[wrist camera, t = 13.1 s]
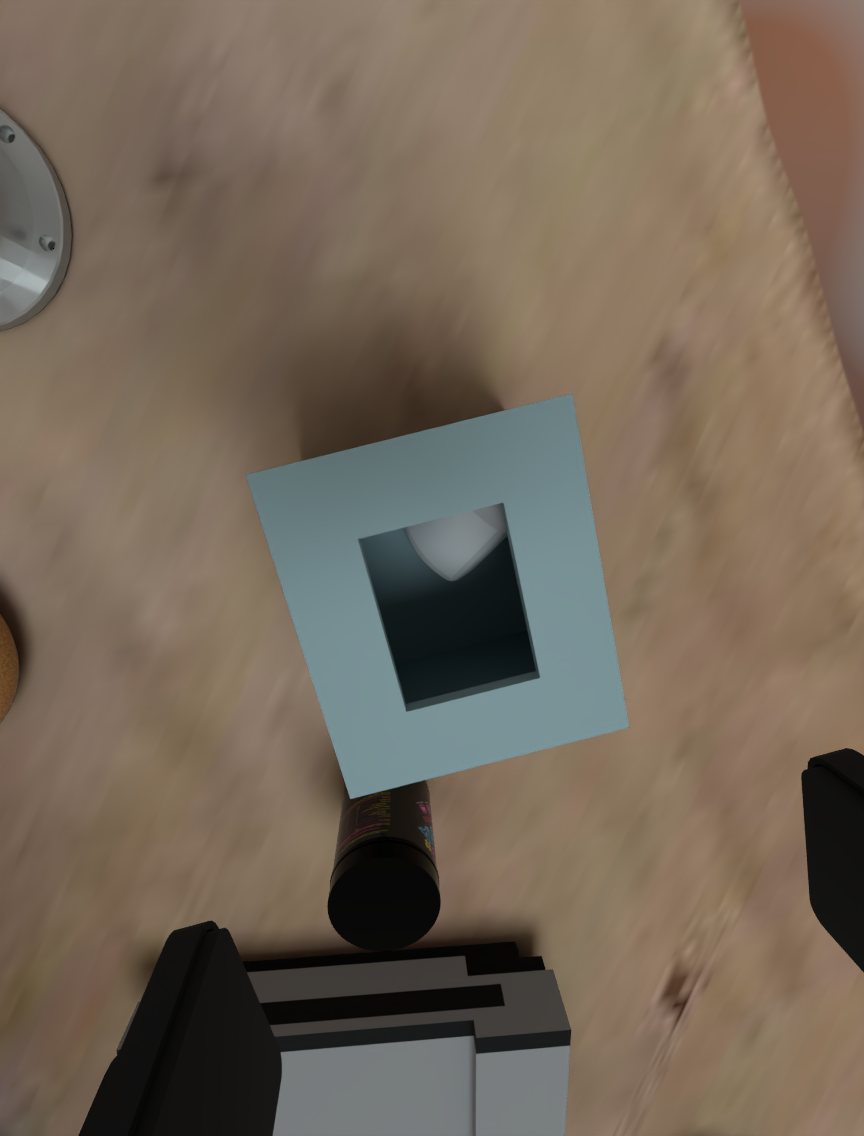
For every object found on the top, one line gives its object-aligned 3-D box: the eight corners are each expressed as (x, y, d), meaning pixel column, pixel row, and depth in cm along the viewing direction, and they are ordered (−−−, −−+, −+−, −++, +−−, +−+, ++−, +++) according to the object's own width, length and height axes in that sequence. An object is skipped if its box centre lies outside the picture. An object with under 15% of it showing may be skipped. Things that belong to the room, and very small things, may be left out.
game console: (158, 957, 45) (107, 1069, 37) (540, 929, 47) (571, 1029, 39) (188, 1140, 50) (149, 1275, 42) (533, 1107, 52) (559, 1229, 44)
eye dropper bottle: (412, 584, 34) (505, 475, 24) (398, 507, 36) (478, 377, 26) (473, 583, 36) (584, 482, 26) (457, 510, 38) (553, 390, 28)
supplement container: (384, 846, 43) (381, 970, 33) (324, 793, 42) (302, 906, 32) (447, 794, 43) (464, 904, 33) (388, 739, 41) (387, 836, 31)
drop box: (301, 461, 36) (245, 474, 22) (505, 410, 36) (572, 393, 23) (365, 676, 40) (350, 799, 26) (549, 629, 40) (629, 727, 26)
